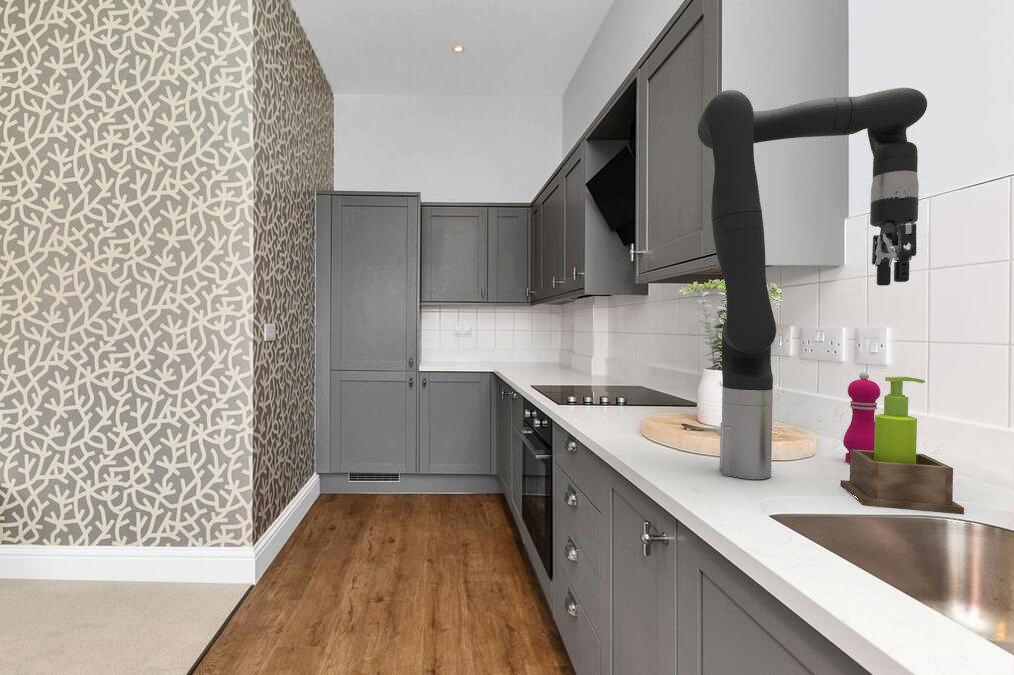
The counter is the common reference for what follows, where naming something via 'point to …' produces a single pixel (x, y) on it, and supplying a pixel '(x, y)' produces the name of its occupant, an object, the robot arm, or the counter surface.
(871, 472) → the box
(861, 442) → the pepper mill
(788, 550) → the counter surface
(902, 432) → the soap dispenser
